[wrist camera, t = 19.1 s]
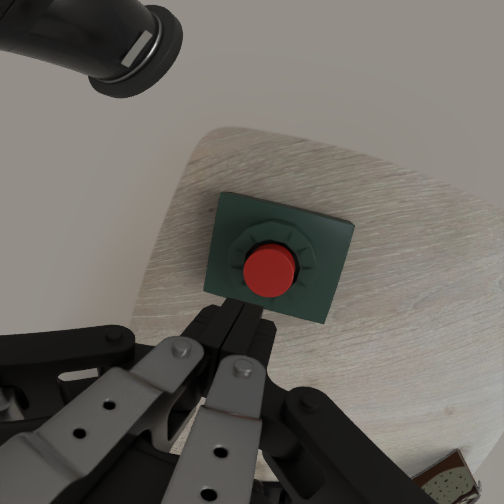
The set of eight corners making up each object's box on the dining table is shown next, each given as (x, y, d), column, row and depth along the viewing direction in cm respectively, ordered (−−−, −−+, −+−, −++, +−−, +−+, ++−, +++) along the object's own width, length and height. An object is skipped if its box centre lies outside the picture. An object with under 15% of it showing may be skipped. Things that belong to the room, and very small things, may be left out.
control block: (211, 282, 25) (194, 299, 21) (228, 191, 22) (212, 193, 19) (323, 312, 23) (324, 335, 19) (350, 221, 21) (359, 229, 17)
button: (244, 281, 20) (238, 290, 18) (254, 238, 19) (248, 243, 17) (288, 293, 20) (286, 303, 18) (300, 250, 19) (299, 256, 17)
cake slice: (417, 489, 27) (423, 532, 17) (400, 484, 27) (405, 531, 18) (477, 450, 23) (493, 493, 14) (465, 442, 23) (482, 490, 14)
